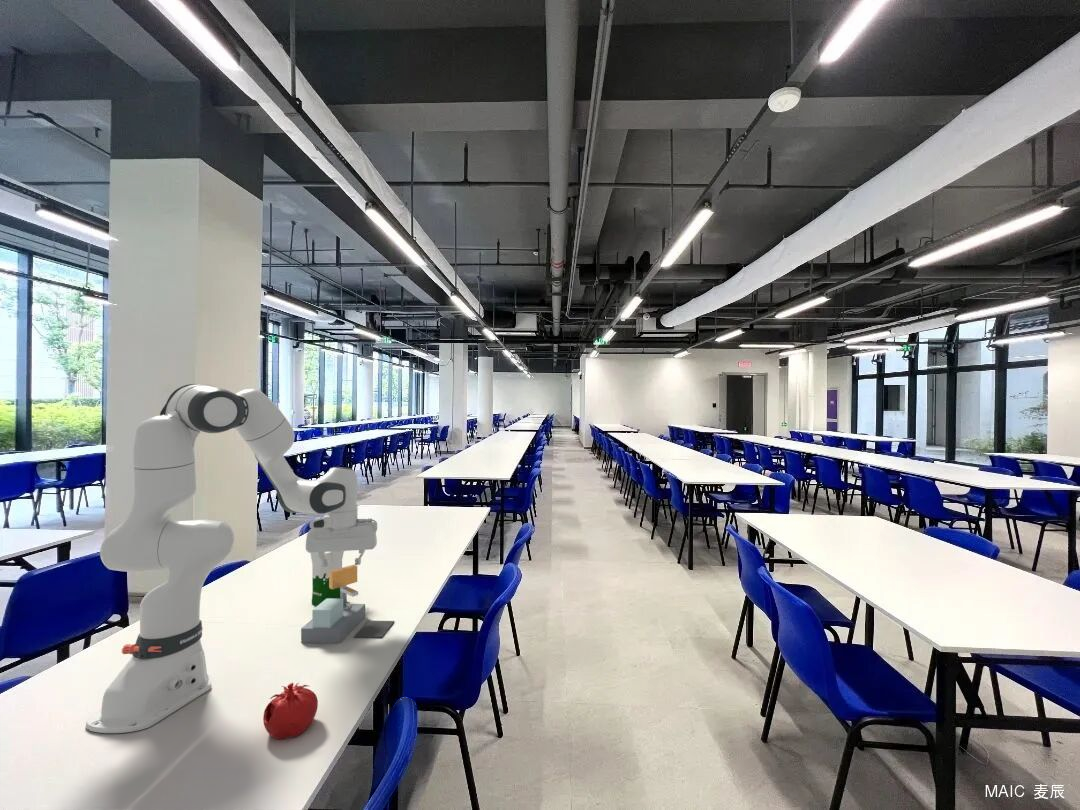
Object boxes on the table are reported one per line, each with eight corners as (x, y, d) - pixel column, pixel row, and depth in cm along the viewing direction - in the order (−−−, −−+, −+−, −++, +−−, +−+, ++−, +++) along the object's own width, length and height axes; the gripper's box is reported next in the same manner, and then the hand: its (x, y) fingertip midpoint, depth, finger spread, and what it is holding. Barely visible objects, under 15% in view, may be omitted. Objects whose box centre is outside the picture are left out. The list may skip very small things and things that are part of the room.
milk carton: (347, 599, 163) (347, 541, 163) (324, 609, 155) (324, 548, 155) (330, 595, 167) (329, 538, 167) (306, 604, 159) (306, 544, 159)
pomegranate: (325, 712, 103) (326, 669, 103) (304, 745, 93) (305, 696, 93) (278, 713, 102) (279, 669, 102) (252, 745, 92) (253, 696, 92)
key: (367, 608, 145) (367, 569, 145) (342, 617, 139) (342, 577, 139) (354, 601, 150) (353, 564, 150) (329, 609, 144) (329, 571, 144)
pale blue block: (330, 628, 133) (329, 610, 133) (312, 627, 133) (312, 609, 133) (343, 615, 141) (343, 598, 141) (326, 615, 141) (326, 598, 141)
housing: (339, 643, 132) (339, 627, 132) (301, 642, 133) (301, 627, 133) (365, 616, 149) (365, 602, 149) (331, 616, 150) (330, 602, 150)
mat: (381, 638, 135) (381, 636, 135) (354, 637, 136) (354, 636, 136) (394, 622, 145) (394, 620, 145) (368, 621, 146) (368, 620, 146)
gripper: (379, 516, 152) (378, 560, 151) (310, 519, 148) (310, 564, 148) (375, 520, 146) (375, 566, 145) (304, 523, 142) (303, 570, 142)
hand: (341, 565), depth 146 cm, fingers open, 8 cm apart
